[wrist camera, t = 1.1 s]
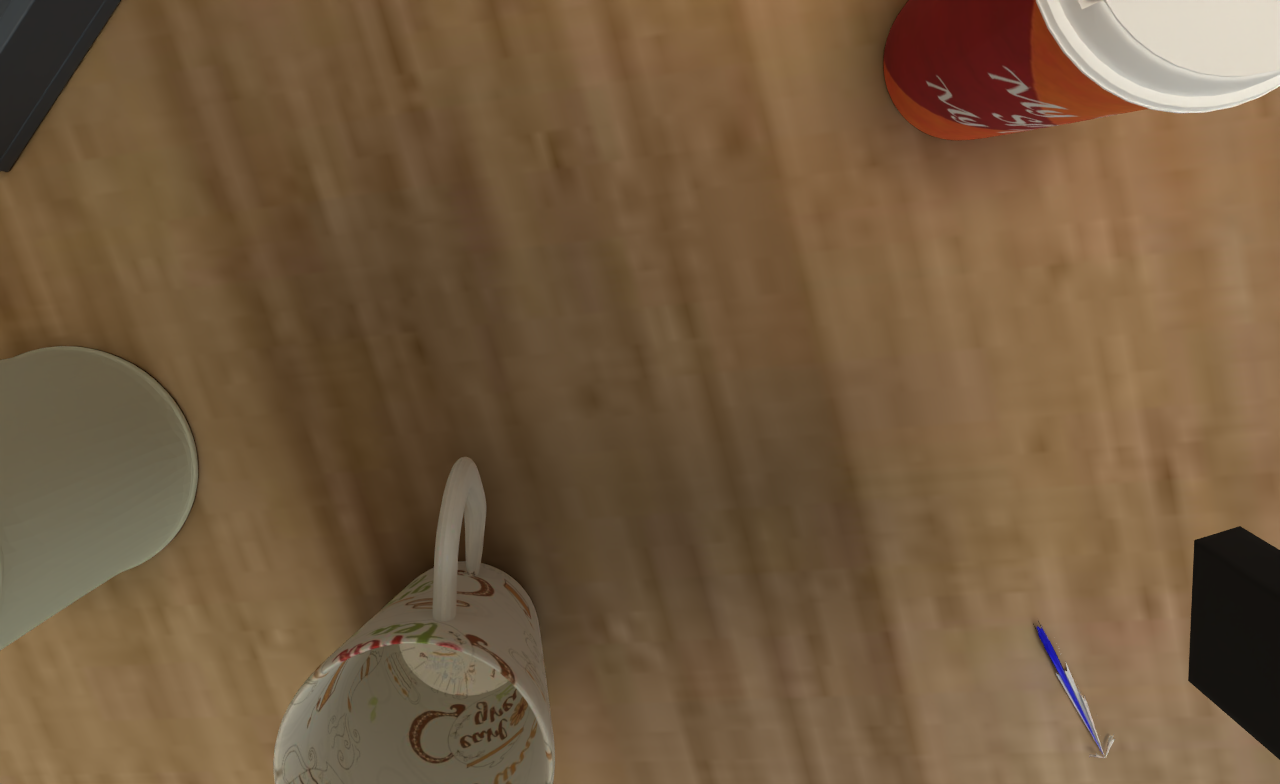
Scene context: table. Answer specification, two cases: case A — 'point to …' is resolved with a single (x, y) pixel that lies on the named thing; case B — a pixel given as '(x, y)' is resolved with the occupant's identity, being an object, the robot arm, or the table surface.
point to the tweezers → (1073, 693)
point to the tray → (40, 60)
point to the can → (83, 477)
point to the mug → (431, 678)
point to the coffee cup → (1074, 60)
